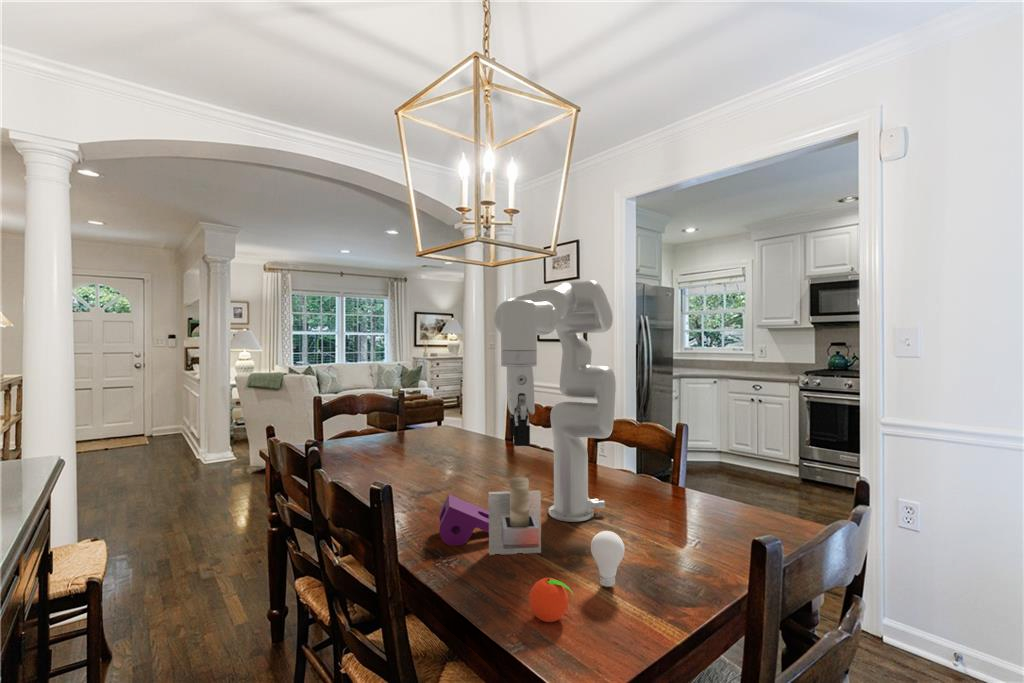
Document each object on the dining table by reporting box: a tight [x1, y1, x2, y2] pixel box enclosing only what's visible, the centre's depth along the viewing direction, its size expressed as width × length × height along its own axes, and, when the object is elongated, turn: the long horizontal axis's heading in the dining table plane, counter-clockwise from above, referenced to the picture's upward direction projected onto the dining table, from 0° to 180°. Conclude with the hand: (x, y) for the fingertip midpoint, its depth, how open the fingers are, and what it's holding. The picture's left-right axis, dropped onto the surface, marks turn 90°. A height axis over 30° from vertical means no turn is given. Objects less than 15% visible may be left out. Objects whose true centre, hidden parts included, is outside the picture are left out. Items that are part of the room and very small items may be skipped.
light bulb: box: [590, 530, 626, 589], centre depth 97 cm, size 7×7×11 cm
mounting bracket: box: [439, 494, 489, 546], centre depth 122 cm, size 9×8×18 cm
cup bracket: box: [488, 489, 542, 556], centre depth 106 cm, size 12×15×14 cm
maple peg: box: [509, 476, 530, 527], centre depth 102 cm, size 4×4×12 cm
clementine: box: [528, 577, 575, 623], centre depth 86 cm, size 8×7×7 cm
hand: (519, 440), depth 102 cm, fingers open, 9 cm apart
